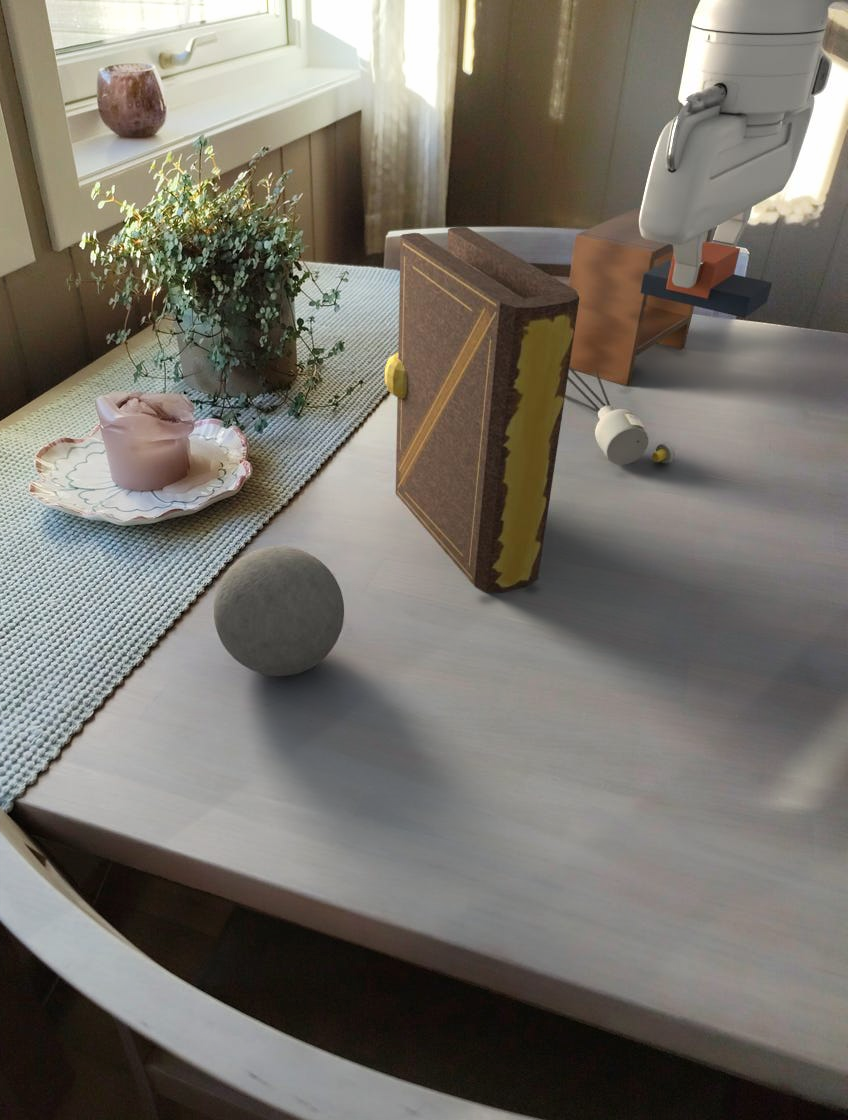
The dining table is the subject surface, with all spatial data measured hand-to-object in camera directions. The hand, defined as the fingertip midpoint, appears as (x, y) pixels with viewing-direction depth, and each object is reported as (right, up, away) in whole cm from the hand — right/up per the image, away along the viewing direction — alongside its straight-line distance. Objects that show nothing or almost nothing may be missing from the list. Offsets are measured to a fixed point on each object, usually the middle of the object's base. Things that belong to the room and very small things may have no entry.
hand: (702, 274), depth 73 cm
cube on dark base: (0, -2, +1) cm, 2 cm away
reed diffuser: (-1, -6, +30) cm, 30 cm away
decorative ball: (-34, -31, 0) cm, 46 cm away
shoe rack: (+6, +8, +45) cm, 46 cm away
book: (-18, -19, +14) cm, 30 cm away
